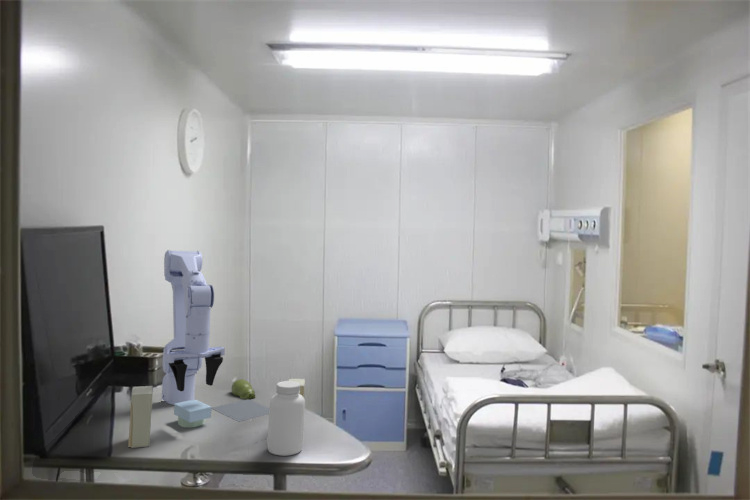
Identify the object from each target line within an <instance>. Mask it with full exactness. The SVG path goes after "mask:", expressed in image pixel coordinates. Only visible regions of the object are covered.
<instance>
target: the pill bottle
mask: <svg viewBox="0 0 750 500" xmlns="http://www.w3.org/2000/svg"><path fill="white" fill-rule="evenodd" d="M275 389H276V391H275V392H276V394H274V395H273V396H272V397H271V398H270V401H269V408H270V409H269V414H268V430H267V431H268V432H267V451H268V452H269V453H270V454H272V455H275V456H280V457H281V456H283V457H285V456H286V457H287V456H293V455H296V454H298V453H301V451H302V449H303V446H304V444H303V443H304V432H305V429H304V428H305V426H304V425H305V414H306V413H305V412H306V411H305V409H306V400H305V397H303V396H302V395H300V394H299V393H300V384H299V383H298V382H295V381H288V380H284V381H279V382H277V384H276V388H275Z"/></svg>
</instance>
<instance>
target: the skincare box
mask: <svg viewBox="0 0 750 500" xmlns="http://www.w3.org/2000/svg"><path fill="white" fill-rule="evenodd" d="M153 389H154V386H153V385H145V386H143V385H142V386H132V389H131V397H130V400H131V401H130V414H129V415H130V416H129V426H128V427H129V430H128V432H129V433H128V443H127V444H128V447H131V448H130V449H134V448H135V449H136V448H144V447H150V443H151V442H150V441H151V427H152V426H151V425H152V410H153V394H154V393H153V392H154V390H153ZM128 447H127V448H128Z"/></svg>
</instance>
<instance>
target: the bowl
mask: <svg viewBox="0 0 750 500" xmlns="http://www.w3.org/2000/svg"><path fill="white" fill-rule="evenodd" d="M206 420H207V418H206V419H202V420H198V421H194V422H190V423H189V422H187V421H186V420H184V419H182V418H180V417H178V416H177V425H178V426H180V427H182V428H196V427H200V426H203V425H204V424H205V423H206V422H207V421H206Z"/></svg>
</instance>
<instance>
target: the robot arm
mask: <svg viewBox="0 0 750 500" xmlns="http://www.w3.org/2000/svg"><path fill="white" fill-rule="evenodd" d="M163 257H164V258H163V259H164V260H163V265H164V266H163V269H164V272H163V273H164V277H165V278H164V280H165V281H167V282H168V283H170V285H171V289H172V311H173V312H172V313H173V314H172V316H173V318H172V319H173V320H172V321H173V322H172V323H173V339H172V340H170V341H169V342H168V343H166V344H165V345H164V347H163V350H162V351H163V353H162V371H163V372H164V373H165V374H164V376H163V378H162V382H161V383H162V385H161V400H162V399H163V400H164V401H166V403H167V404H169V405H172V406H173V405H174V404H175V403H180V402H185V401H189V400H194V399H195V392H196V390H195V387H196V374H198V371H200V370H201V369H202V365H203V358H204V361H205V384H206V386H207V385H208V386H213V384H214V381H215V377H216V375H217V372H218V371H219V368H220V366H221V365H222V363H223V362H224V357H223V356H225V351H226V350H225V349H226V348H225V347H223V346H217V347H216V346H215V347H210V335H211V334H210V333H211V332H210V331H211V311H212V310H211V309H212V308H213V307H214V303H215V289H214V286H213V285H212V284H208V283H207V281H206V278H205V275H204V274H203V273H202V272H201V270H202V268H203V254H202V252H201V251H200V250H197V251H194V250H193V251H191V250H189V251H188V250H170V249H167V250H166V251H165V252H164V256H163Z"/></svg>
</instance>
